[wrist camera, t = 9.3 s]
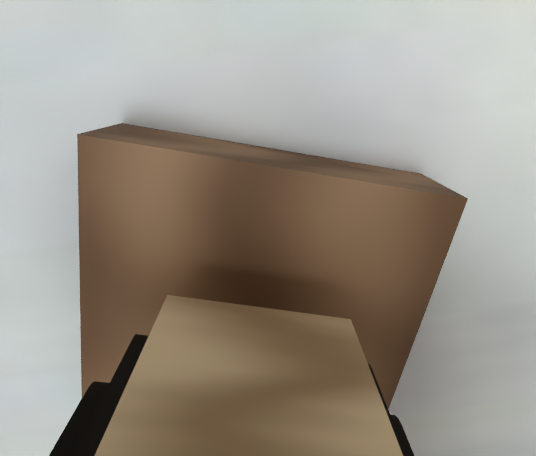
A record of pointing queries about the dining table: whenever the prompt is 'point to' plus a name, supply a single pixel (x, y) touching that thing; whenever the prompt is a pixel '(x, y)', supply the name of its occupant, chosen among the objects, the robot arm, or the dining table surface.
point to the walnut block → (252, 240)
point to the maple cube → (249, 387)
